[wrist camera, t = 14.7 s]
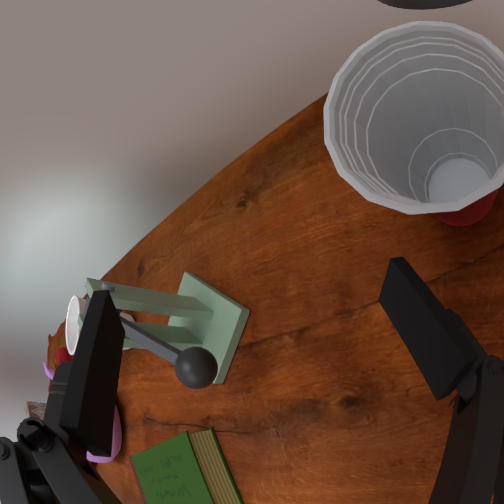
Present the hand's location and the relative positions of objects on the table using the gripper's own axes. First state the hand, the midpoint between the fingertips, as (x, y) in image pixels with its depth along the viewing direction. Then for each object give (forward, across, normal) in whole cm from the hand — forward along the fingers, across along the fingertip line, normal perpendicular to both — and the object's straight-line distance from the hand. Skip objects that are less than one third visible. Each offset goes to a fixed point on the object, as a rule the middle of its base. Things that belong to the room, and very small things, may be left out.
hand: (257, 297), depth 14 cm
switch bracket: (+16, -4, -18) cm, 24 cm away
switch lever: (+9, -8, -12) cm, 17 cm away
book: (-6, -8, -36) cm, 37 cm away
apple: (+42, -45, -57) cm, 84 cm away
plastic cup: (+6, +16, +2) cm, 18 cm away
